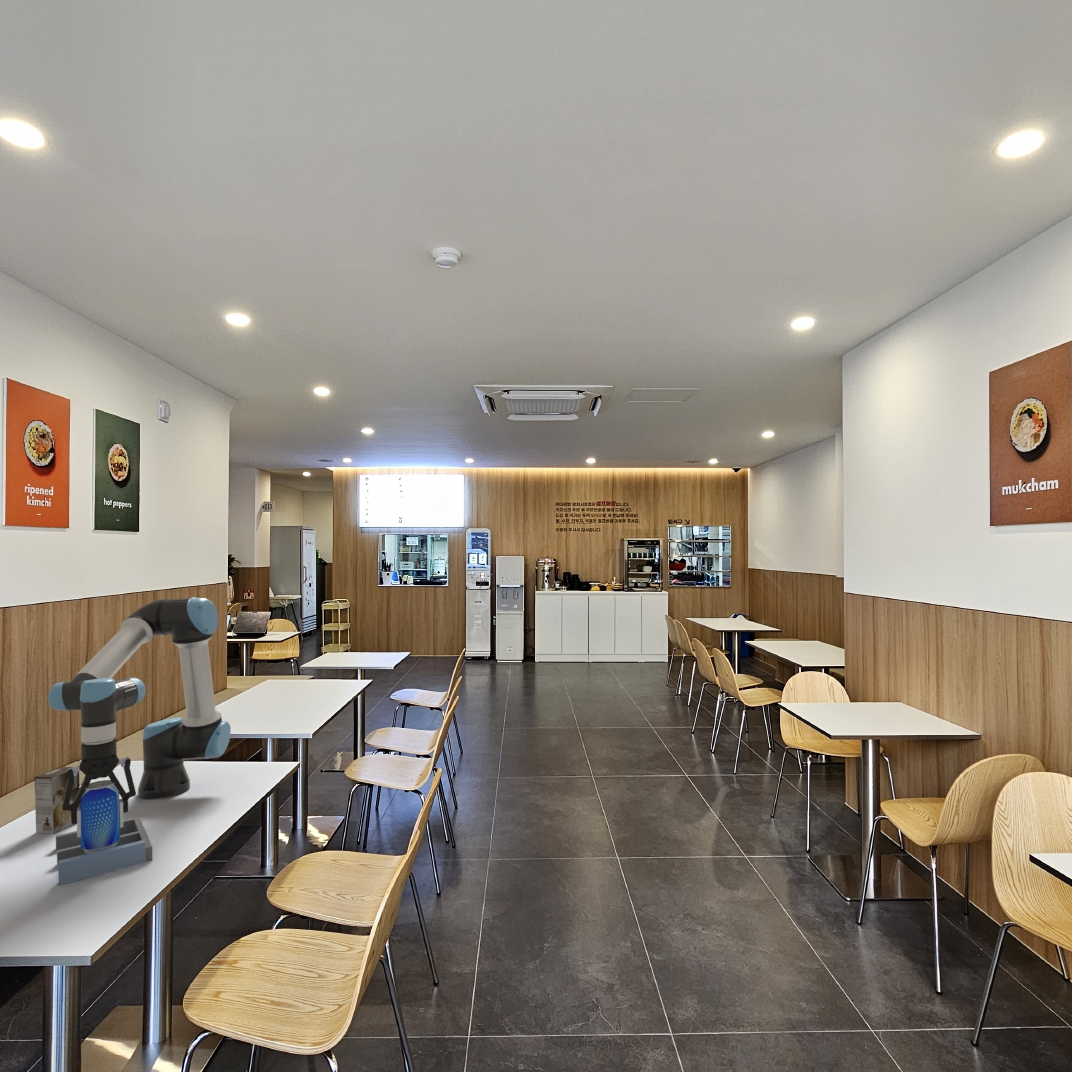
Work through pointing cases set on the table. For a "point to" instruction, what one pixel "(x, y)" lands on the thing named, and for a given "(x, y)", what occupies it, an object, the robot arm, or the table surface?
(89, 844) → the beer can
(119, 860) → the divided slot tray
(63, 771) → the coffee box
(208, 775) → the table surface
